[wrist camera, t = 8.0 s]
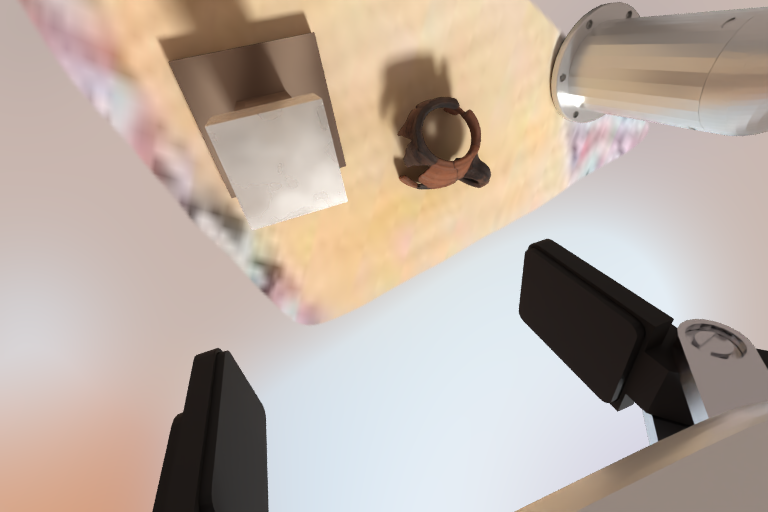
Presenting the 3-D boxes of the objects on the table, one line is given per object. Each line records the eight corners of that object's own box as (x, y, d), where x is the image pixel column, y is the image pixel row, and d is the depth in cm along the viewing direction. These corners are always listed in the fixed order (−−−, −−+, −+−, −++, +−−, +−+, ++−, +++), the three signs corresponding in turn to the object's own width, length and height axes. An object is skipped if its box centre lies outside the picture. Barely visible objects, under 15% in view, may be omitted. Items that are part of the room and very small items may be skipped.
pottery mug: (373, 177, 40) (395, 156, 32) (398, 105, 41) (426, 68, 33) (459, 215, 43) (499, 205, 35) (481, 147, 44) (524, 123, 36)
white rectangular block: (291, 78, 30) (322, 98, 18) (311, 146, 33) (347, 201, 21) (222, 94, 29) (204, 126, 17) (250, 162, 32) (251, 230, 20)
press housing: (311, 32, 30) (343, 24, 20) (342, 162, 37) (378, 204, 27) (171, 61, 28) (128, 67, 18) (232, 193, 35) (226, 251, 25)
